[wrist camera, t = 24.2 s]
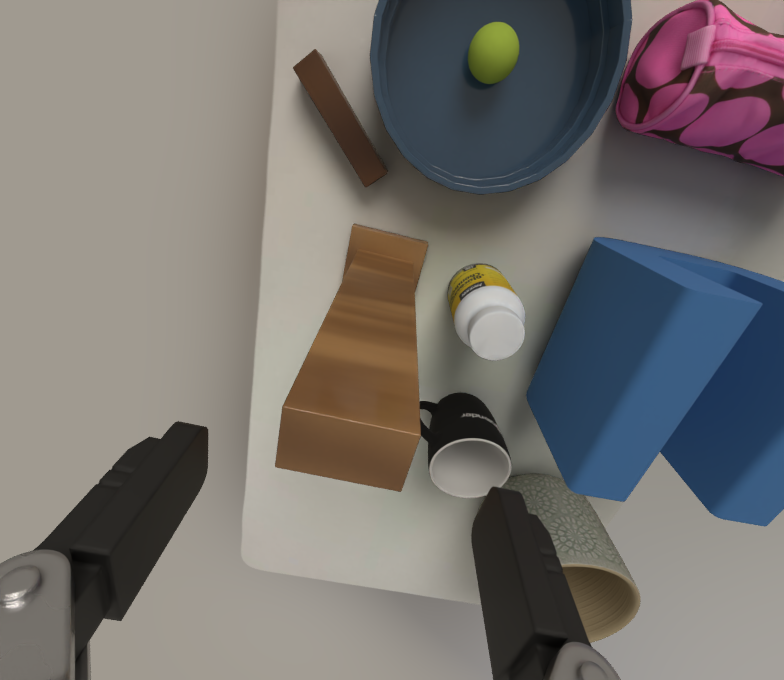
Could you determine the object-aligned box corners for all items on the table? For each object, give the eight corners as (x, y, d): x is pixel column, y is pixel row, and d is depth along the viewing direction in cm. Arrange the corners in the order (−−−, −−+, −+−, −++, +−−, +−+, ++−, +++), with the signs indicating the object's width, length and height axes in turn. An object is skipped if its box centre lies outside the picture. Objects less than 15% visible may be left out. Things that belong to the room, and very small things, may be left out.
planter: (454, 523, 60) (468, 634, 47) (493, 446, 53) (523, 551, 39) (553, 544, 62) (595, 657, 48) (605, 471, 54) (672, 581, 40)
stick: (365, 187, 36) (367, 185, 38) (387, 173, 35) (388, 171, 37) (292, 67, 32) (299, 72, 34) (315, 48, 31) (321, 54, 33)
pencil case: (881, 65, 32) (1064, 34, 23) (803, 186, 36) (931, 200, 28) (642, 7, 31) (736, -49, 22) (591, 139, 35) (652, 137, 26)
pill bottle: (486, 249, 40) (513, 285, 30) (515, 295, 43) (550, 344, 32) (435, 283, 42) (444, 329, 32) (466, 326, 45) (483, 381, 34)
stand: (353, 223, 40) (262, 356, 15) (427, 241, 40) (459, 399, 15) (340, 293, 43) (249, 495, 18) (409, 309, 44) (410, 526, 19)
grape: (470, 31, 28) (526, 27, 28) (469, 17, 30) (520, 13, 30) (466, 92, 31) (516, 90, 31) (465, 75, 34) (512, 73, 33)
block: (737, 265, 40) (955, 345, 24) (651, 400, 48) (771, 527, 32) (574, 230, 39) (690, 289, 23) (515, 374, 47) (569, 492, 31)
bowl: (331, 42, 33) (319, 26, 28) (535, -159, 27) (560, -219, 23) (450, 227, 39) (456, 237, 35) (634, 97, 34) (669, 90, 29)
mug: (507, 404, 49) (529, 462, 40) (465, 447, 53) (477, 509, 44) (431, 360, 47) (437, 411, 38) (392, 408, 50) (389, 466, 41)
